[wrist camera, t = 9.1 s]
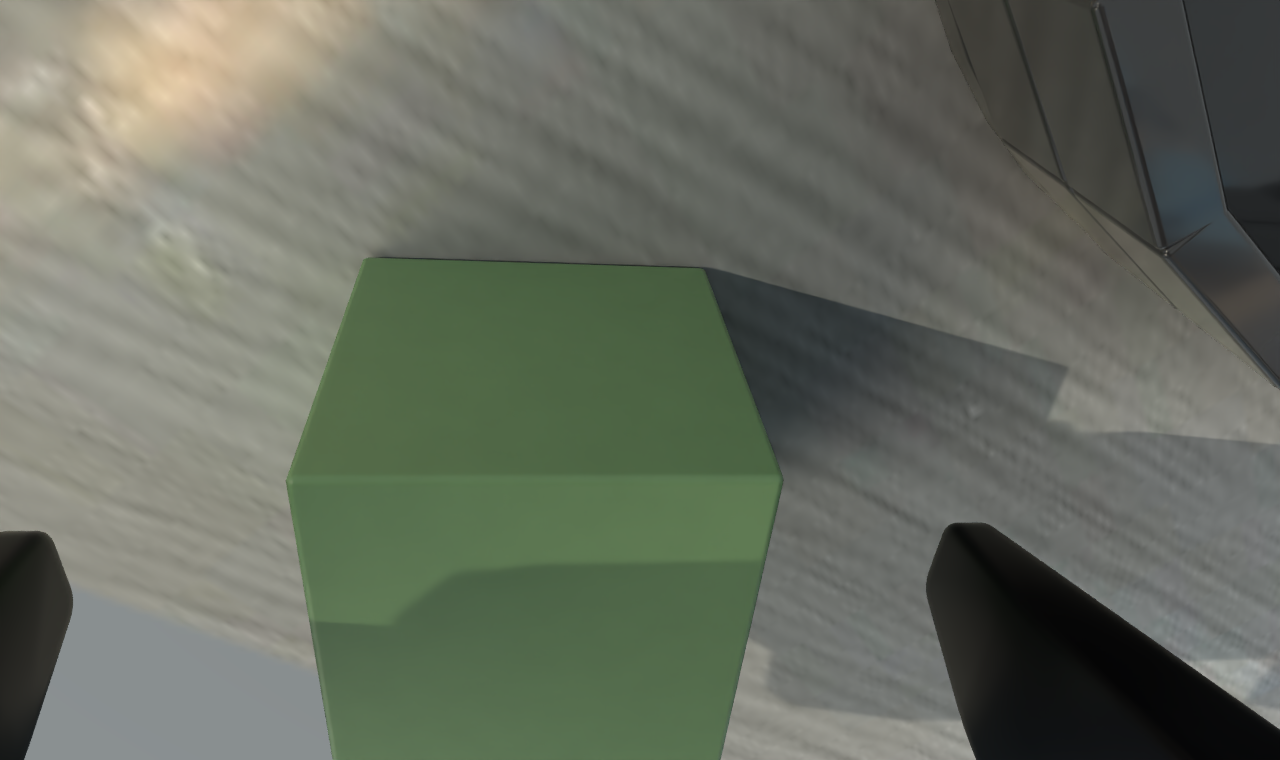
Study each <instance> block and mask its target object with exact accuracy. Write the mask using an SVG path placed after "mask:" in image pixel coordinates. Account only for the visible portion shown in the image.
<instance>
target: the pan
mask: <svg viewBox="0 0 1280 760" xmlns="http://www.w3.org/2000/svg"><path fill="white" fill-rule="evenodd" d="M935 2H936V5H937V8H938V12H939V15H940V18H941V21H942V24H943V27H944V30H945V33H946V36H947V39H948V42H949V45H950V48H951V52H952V54H953V56H954V58H955V60H956V62H957V63H958V65H959V67H960V69H961V71H962V73H963V75H964V77H965V79H966V81H967V83H968V85H969V87H970V89H971V91H972V93H973V95H974V97H975V99H976V101H977V103H978V105H979V107H980V109H981V111H982V113H983V115H984V117H985V119H986V121H987V122H988V124H989V125H990V126H991V128H992V129H993V130H994V132H995V133H996V135H997V136H998V137H999V139H1000V140H1001V141H1002V143H1003V144H1004V146H1005V147H1006V148H1007V150H1008V151H1009V152H1010V154H1011V155H1012V157H1013V158H1014V159H1015V161H1016V162H1017V163H1018V165H1019V166H1020V168H1021V169H1022V170H1023V172H1024V173H1025V174H1026V175H1027V176H1028V177H1029V178H1030V179H1031V180H1032V181H1033V182H1034V183H1035V184H1036V185H1037V186H1038V187H1039V188H1040V189H1041V190H1042V191H1043V192H1044V193H1045V194H1046V195H1047V196H1048V197H1049V198H1050V199H1051V200H1052V201H1054V202H1055V203H1056V204H1057V205H1058V206H1059V207H1060V208H1061V209H1062V210H1063V211H1064V212H1065V213H1066V214H1067V215H1068V216H1069V217H1070V218H1071V219H1072V220H1074V221H1075V222H1076V223H1077V224H1078V225H1079V226H1080V227H1081V228H1082V229H1083V230H1084V231H1085V232H1086V233H1087V235H1088V236H1089V237H1090V238H1091V239H1092V240H1093V241H1094V242H1095V243H1096V244H1097V245H1098V246H1099V247H1100V249H1101V250H1102V251H1103V252H1104V253H1105V254H1106V255H1108V256H1109V257H1110V258H1111V259H1113V260H1114V261H1115V262H1117V263H1118V264H1119V265H1120V266H1122V267H1123V268H1124V269H1125V270H1127V271H1128V272H1129V273H1131V274H1132V275H1133V276H1134V277H1136V278H1137V279H1138V280H1139V281H1141V282H1142V283H1143V284H1144V285H1146V286H1147V287H1148V288H1150V289H1151V290H1152V291H1153V292H1155V293H1156V294H1157V295H1158V296H1160V297H1161V298H1162V299H1163V300H1165V301H1166V302H1167V303H1169V304H1170V305H1171V306H1172V307H1174V308H1176V309H1177V310H1179V311H1180V312H1181V313H1182V314H1183V315H1184V316H1185V317H1186V318H1188V319H1189V320H1190V321H1191V322H1193V323H1194V324H1195V325H1196V326H1198V327H1199V328H1200V329H1202V330H1203V331H1204V332H1205V333H1207V334H1208V335H1209V336H1210V337H1212V338H1213V339H1214V340H1215V341H1217V342H1218V343H1219V344H1221V345H1222V346H1223V347H1224V348H1226V349H1227V350H1228V351H1229V352H1231V353H1232V354H1233V355H1235V356H1236V357H1237V358H1238V359H1240V360H1241V361H1242V362H1243V363H1245V364H1246V365H1247V366H1248V367H1250V368H1251V369H1252V370H1254V371H1255V372H1256V373H1257V374H1259V375H1260V376H1261V377H1262V378H1264V379H1265V380H1266V381H1267V382H1269V383H1270V384H1271V385H1273V386H1274V387H1276V388H1278V389H1279V390H1280V0H935Z"/></svg>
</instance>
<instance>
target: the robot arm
mask: <svg viewBox="0 0 1280 760" xmlns="http://www.w3.org/2000/svg"><path fill="white" fill-rule="evenodd" d="M926 592H927V599H928V603H929V606H930V610H931V613H932V617H933V621H934V624H935V628H936V631H937V635H938V639H939V642H940V646H941V649H942V653H943V656H944V660H945V664H946V667H947V671H948V674H949V678H950V682H951V685H952V689H953V692H954V696H955V699H956V703H957V707H958V710H959V713H960V716H961V719H962V723H963V726H964V729H965V731H966V734H967V737H968V740H969V742H970V745H971V748H972V750H973V753H974V755H975V758H976V760H1280V729H1278V728H1277V727H1275V726H1274V725H1273V724H1271V723H1270V722H1268V721H1267V720H1266V719H1264V718H1263V717H1261V716H1260V715H1258V714H1257V713H1256V712H1254V711H1253V710H1251V709H1250V708H1249V707H1247V706H1246V705H1244V704H1243V703H1242V702H1240V701H1239V700H1237V699H1236V698H1234V697H1233V696H1232V695H1230V694H1229V693H1227V692H1226V691H1225V690H1223V689H1222V688H1220V687H1219V686H1217V685H1216V684H1215V683H1213V682H1212V681H1210V680H1209V679H1208V678H1206V677H1205V676H1203V675H1202V674H1200V673H1199V672H1198V671H1196V670H1195V669H1193V668H1192V667H1191V666H1189V665H1188V664H1186V663H1185V662H1183V661H1182V660H1181V659H1179V658H1178V657H1176V656H1175V655H1174V654H1172V653H1171V652H1169V651H1168V650H1166V649H1165V648H1164V647H1162V646H1161V645H1159V644H1158V643H1157V642H1155V641H1154V640H1152V639H1151V638H1149V637H1148V636H1147V635H1145V634H1144V633H1142V632H1141V631H1140V630H1138V629H1137V628H1135V627H1134V626H1132V625H1131V624H1130V623H1128V622H1127V621H1125V620H1124V619H1123V618H1121V617H1120V616H1118V615H1117V614H1115V613H1114V612H1113V611H1111V610H1110V609H1108V608H1107V607H1106V606H1104V605H1103V604H1101V603H1100V602H1098V601H1097V600H1096V599H1094V598H1093V597H1091V596H1090V595H1089V594H1087V593H1086V592H1084V591H1083V590H1081V589H1080V588H1079V587H1077V586H1076V585H1074V584H1073V583H1072V582H1070V581H1069V580H1067V579H1066V578H1065V577H1063V576H1062V575H1060V574H1059V573H1057V572H1056V571H1055V570H1053V569H1052V568H1050V567H1049V566H1048V565H1046V564H1045V563H1043V562H1042V561H1040V560H1039V559H1038V558H1036V557H1035V556H1033V555H1032V554H1031V553H1029V552H1028V551H1026V550H1025V549H1023V548H1022V547H1021V546H1019V545H1018V544H1016V543H1015V542H1014V541H1012V540H1011V539H1009V538H1008V537H1006V536H1005V535H1004V534H1002V533H1001V532H999V531H998V530H997V529H995V528H994V527H992V526H990V525H988V524H986V523H953V524H950V525H949V526H948V527H947V528H946V529H945V530H944V532H943V534H942V537H941V540H940V543H939V545H938V548H937V551H936V553H935V556H934V559H933V562H932V564H931V567H930V570H929V573H928V576H927V582H926ZM72 596H73V595H72V590H71V587H70V584H69V582H68V579H67V576H66V574H65V571H64V568H63V566H62V563H61V560H60V558H59V555H58V552H57V549H56V547H55V544H54V542H53V540H52V538H51V537H50V536H49V535H48V534H46V533H44V532H40V531H4V532H0V760H24V758H25V755H26V752H27V750H28V747H29V744H30V741H31V738H32V735H33V732H34V729H35V725H36V723H37V720H38V716H39V714H40V711H41V708H42V704H43V701H44V698H45V695H46V692H47V689H48V686H49V683H50V680H51V676H52V674H53V671H54V667H55V665H56V662H57V658H58V655H59V652H60V649H61V646H62V643H63V640H64V637H65V634H66V631H67V628H68V625H69V622H70V618H71V615H72V608H73V597H72Z"/></svg>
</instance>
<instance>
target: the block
mask: <svg viewBox="0 0 1280 760" xmlns="http://www.w3.org/2000/svg"><path fill="white" fill-rule="evenodd" d="M783 481H784V480H783V476H782V473H781V471H780V468H779V465H778V463H777V460H776V457H775V455H774V452H773V449H772V447H771V444H770V441H769V439H768V436H767V434H766V431H765V428H764V426H763V423H762V420H761V418H760V415H759V412H758V410H757V407H756V404H755V402H754V399H753V397H752V394H751V391H750V389H749V386H748V383H747V381H746V378H745V375H744V373H743V370H742V367H741V365H740V362H739V360H738V357H737V354H736V352H735V349H734V346H733V344H732V341H731V338H730V336H729V333H728V331H727V328H726V325H725V323H724V320H723V317H722V315H721V312H720V309H719V307H718V304H717V301H716V299H715V296H714V294H713V291H712V288H711V286H710V283H709V280H708V278H707V275H706V272H705V270H703V269H700V268H678V267H647V266H616V265H584V264H553V263H522V262H491V261H459V260H428V259H397V258H366V259H364V260H363V262H362V265H361V268H360V271H359V274H358V276H357V279H356V282H355V285H354V288H353V291H352V294H351V296H350V299H349V302H348V305H347V308H346V311H345V313H344V316H343V319H342V322H341V325H340V328H339V331H338V333H337V336H336V339H335V342H334V345H333V348H332V351H331V353H330V356H329V359H328V362H327V365H326V368H325V371H324V373H323V376H322V379H321V382H320V385H319V388H318V391H317V393H316V396H315V399H314V402H313V405H312V408H311V410H310V413H309V416H308V419H307V422H306V425H305V428H304V430H303V433H302V436H301V439H300V442H299V445H298V448H297V450H296V453H295V456H294V459H293V462H292V465H291V468H290V470H289V473H288V476H287V479H286V485H287V491H288V497H289V503H290V509H291V514H292V520H293V526H294V532H295V538H296V544H297V550H298V556H299V562H300V568H301V574H302V580H303V586H304V592H305V598H306V604H307V610H308V616H309V622H310V627H311V633H312V639H313V645H314V651H315V657H316V663H317V669H318V675H319V681H320V687H321V693H322V699H323V704H324V711H325V717H326V722H327V728H328V735H329V740H330V746H331V752H332V758H333V760H720V759H721V755H722V750H723V746H724V742H725V737H726V733H727V728H728V724H729V719H730V715H731V711H732V706H733V702H734V697H735V693H736V689H737V684H738V680H739V675H740V671H741V666H742V662H743V658H744V653H745V649H746V644H747V640H748V635H749V631H750V627H751V622H752V618H753V613H754V609H755V604H756V600H757V596H758V591H759V587H760V582H761V578H762V573H763V569H764V565H765V560H766V556H767V551H768V547H769V542H770V538H771V534H772V529H773V525H774V520H775V516H776V512H777V507H778V503H779V498H780V494H781V489H782V485H783Z"/></svg>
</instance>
